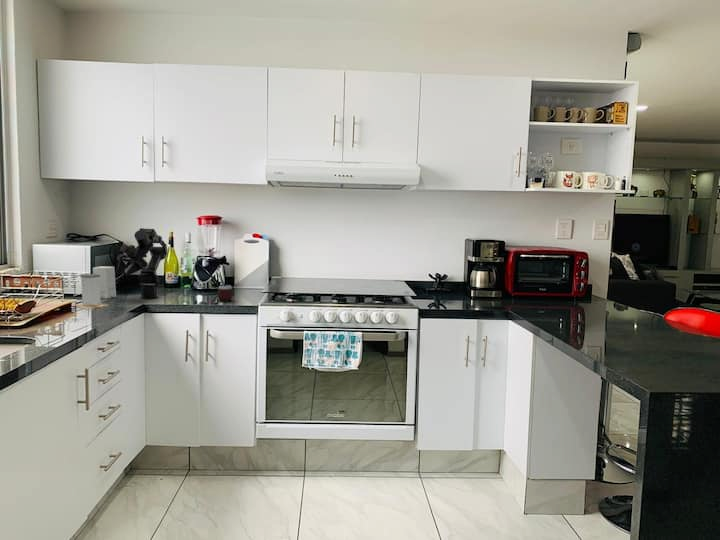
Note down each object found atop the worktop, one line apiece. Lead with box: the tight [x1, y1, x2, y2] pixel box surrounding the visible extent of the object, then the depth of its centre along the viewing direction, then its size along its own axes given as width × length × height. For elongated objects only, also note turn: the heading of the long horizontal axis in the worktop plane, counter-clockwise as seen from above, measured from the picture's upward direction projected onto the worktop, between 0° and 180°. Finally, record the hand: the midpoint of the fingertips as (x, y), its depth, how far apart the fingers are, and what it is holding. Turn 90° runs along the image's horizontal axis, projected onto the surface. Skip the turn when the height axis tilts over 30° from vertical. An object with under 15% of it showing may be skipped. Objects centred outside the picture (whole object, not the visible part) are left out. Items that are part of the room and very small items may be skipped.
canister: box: [80, 273, 102, 307], centre depth 249 cm, size 6×6×14 cm
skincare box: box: [92, 265, 117, 299], centre depth 272 cm, size 8×7×16 cm
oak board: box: [75, 302, 109, 310], centre depth 250 cm, size 12×12×1 cm
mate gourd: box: [214, 270, 234, 303], centre depth 267 cm, size 8×8×15 cm
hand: (120, 274), depth 257 cm, fingers open, 9 cm apart
